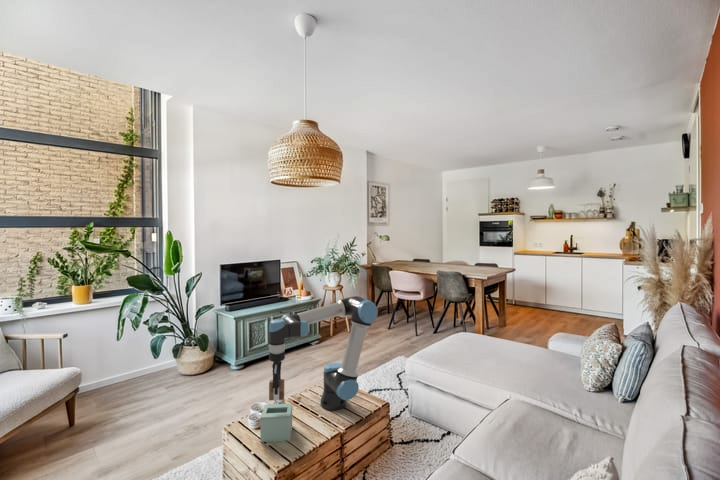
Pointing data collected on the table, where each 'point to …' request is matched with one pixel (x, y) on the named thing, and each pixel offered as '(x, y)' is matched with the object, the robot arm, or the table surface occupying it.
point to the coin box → (276, 422)
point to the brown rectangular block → (281, 389)
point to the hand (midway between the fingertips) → (276, 397)
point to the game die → (279, 402)
